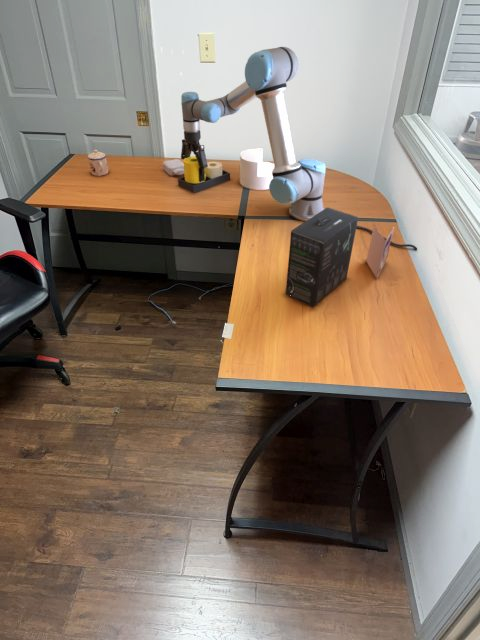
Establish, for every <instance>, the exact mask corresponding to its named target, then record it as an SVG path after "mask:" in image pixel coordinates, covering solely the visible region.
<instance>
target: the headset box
mask: <svg viewBox="0 0 480 640" xmlns="http://www.w3.org/2000/svg"><path fill="white" fill-rule="evenodd" d="M358 221H359V217H358V216H356V215H354V214H350V213H347V212H343V211H341V210H338V209H334V208H332V207H325V208H324V210H323V211H321V212H319V213H318V214H316V215H315V216H313V217H312V218H310V219H309V220H307V221H303V222H302V223H301V224H299V225H298V226H296V227H295V228H293V229H291V231H290V240H289V251H288V262H287V274H286V285H285V295H286V296H288V297H289V298H292V299H293V300H295V301H297V302H300V303H301V304H304V305H306V306H309V307H310V308H315V307H316V306H317V305H318V304H319V303H321V301H322V300H324V299H325V298H326V297H327V296H328V295H330V293H332V292H333V291H334V290H336V289H337V288H338V287H339V286H340V285H341V284H342V283H344V282H345V281H346V280H347V279H348V274H349V269H350V263H351V258H352V253H353V246H354V242H355V238H356V237H355V236H356V232H357V226H358ZM290 295H291V296H290Z"/></svg>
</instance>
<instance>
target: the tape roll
mask: <svg viewBox="0 0 480 640" xmlns="http://www.w3.org/2000/svg"><path fill="white" fill-rule="evenodd" d="M182 163H183V164H184V174H183V175H184V176H185V181H186V182H188V183H201V182H199V168H200V167H199V164H198V161H197V158H196V156H195V155H192V156H191V155H190V157H188V158H185V159H184V160H183V159H182ZM202 182H203V181H202Z"/></svg>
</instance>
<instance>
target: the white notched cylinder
mask: <svg viewBox="0 0 480 640" xmlns="http://www.w3.org/2000/svg"><path fill="white" fill-rule="evenodd" d="M263 155H264V148H263V147H253V148H248V149H244V150H243V151H241V152H240V154H239V184H240V185H241V186H242V187H243V188H246V189H250V190H255V191H267V190H269V184H270V182H271V180H272V179H273V175H272V170H273V169H274V167H275V165H274V162H271V161H270V162H269V161H263V158H264V156H263Z"/></svg>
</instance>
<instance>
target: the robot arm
mask: <svg viewBox="0 0 480 640" xmlns="http://www.w3.org/2000/svg"><path fill="white" fill-rule="evenodd" d="M298 69H299V60H298V56H297V54H296V53H295V51H294V50H292V48H290V47H287V46H278V47H273V48H267V49H261V50H258V51H255V52H254V53H252V54H250V55H249V57H248V58H247V61H246V63H245V66H244V79H245V81H244V82H243V83H240V84H239V85H238V86H236V87H235V88H234V89H232V90H231V91H230V92H228V93H227V94H226V95H224V96H223V97H222V96H221V97H219V98H213V99H211V100H210V99H209V100H201V99H200V97H199V93H198V92H196V91H186V92H182V94H181V99H180V101H181V103H180V104H181V114H182V128H183V130H184V131H183V137H184V138H183V139H181V153H180V159H181V160H182V161H183V160H184V159H185V158H188V157H191V154H192V153H193V155H194V156H196V158H197V161H198V164H199V167H200V168H199V182H202V181H205V168H206V167H208V165H207V162H208V160H207V156H206V152H205V145H204V144H201V143H200V140H201V121H203V122H206V123H208V124H209V123H211V124H214V123H217V122H218V121H219V120H220V119H221V118H223V117H226V116H230V115H235V114H237V113H238V112H239V111H240V109H242V108H243V107H244V106H245V105H247V104H249V103H250V102H252V101H253V100H256V99H258V100H260V102H261V107H262V111H263V116H264V122H265V126H266V131H267V136H268V140H269V147H270V150H271V155H272V161H273V164H274V165H275V167H274V169H273V170H272V175H273V179H272V180H271V182H270V184H269V189H268V191H269V194H270V195H271V197H272V199H273V200H274V201H276V202H277V203H278V204H279V205H283V206H287V205H290V206H289V208H288V209H289V210H288V214H289V216H290V217H291V218H293V219H294V220H297V221H301V222H305V221H307V220H309V219H310V218H312V217H313V216H315V215H316V214H318V213H319V212H321V211H323V210H324V209H325V206H324V202H323V192H324V187H325V186H324V185H325V178H326V168H327V166H326V164H325V163H324V162H323V161H320V160H318V159H317V160H316V159H311V158H302V159H299V160H298V161H297V158H296V152H295V147H294V141H293V136H292V131H291V126H290V125H291V124H290V119H289V114H288V108H287V103H286V98H285V92H286V91H287V89H288V85H287V83H288V82H290V81H291V80H292V79H294V78H295V76H296V75H297V73H298ZM356 229H361V230H364V231H367V232H369V233H372V232H373V229H370V228H368V227H364V226H361V225H357V227H356ZM383 238H384V239H385V241H386V240H387V238H386V237H385V236H383ZM390 245H393V246H395V247H399V248H405V247H406V248H407V247H409V248H413V249H414V250H415V251H418V250H417V249H418V247H416V246H415V245H413V244H409V243H408V244H399V243H396V242H393V241H391V242H390Z"/></svg>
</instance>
